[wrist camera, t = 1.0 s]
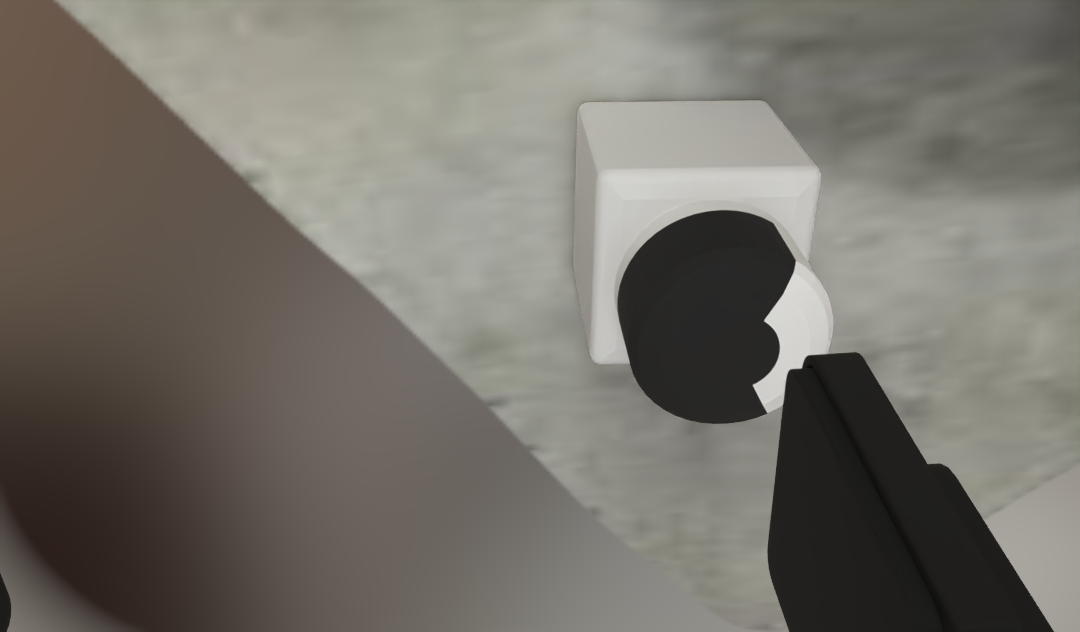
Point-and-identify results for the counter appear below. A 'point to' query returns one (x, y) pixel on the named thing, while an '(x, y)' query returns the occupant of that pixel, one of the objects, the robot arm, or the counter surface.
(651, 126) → the medicine bottle
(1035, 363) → the counter surface
